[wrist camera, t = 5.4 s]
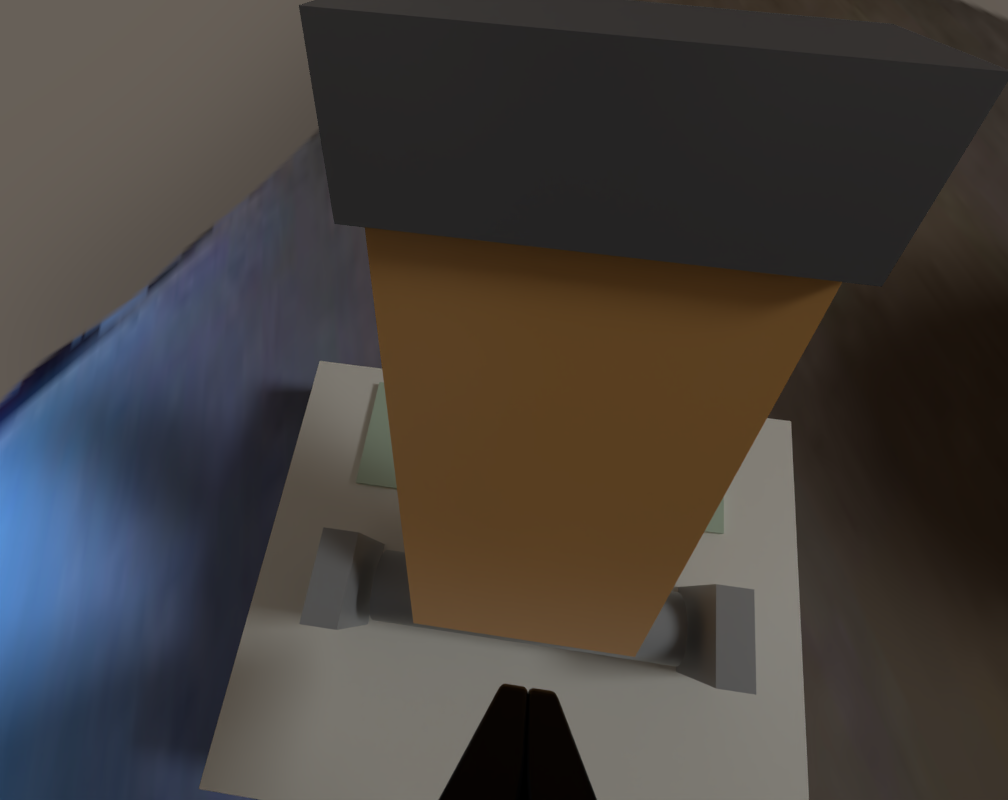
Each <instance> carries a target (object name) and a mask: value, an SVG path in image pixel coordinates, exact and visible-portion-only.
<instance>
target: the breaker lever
mask: <svg viewBox="0 0 1008 800" xmlns="http://www.w3.org/2000/svg"><path fill="white" fill-rule="evenodd" d="M299 8H300V15H301V21H302V27H303V33H304V39H305V46H306V52H307V58H308V64H309V70H310V75H311V82H312V89H313V94H314V101H315V107H316V113H317V119H318V126H319V132H320V138H321V144H322V150H323V156H324V162H325V169H326V175H327V181H328V187H329V193H330V199H331V206H332V212H333V218H334V224H341V225H349V226H358V227H365V233H366V241H367V249H368V257H369V265H370V274H371V282H372V290H373V298H374V306H375V314H376V322H377V331H378V339H379V347H380V355H381V363H382V371H383V379H384V388H385V396H386V404H387V412H388V420H389V428H390V436H391V444H392V453H393V461H394V469H395V477H396V485H397V493H398V501H399V510H400V518H401V526H402V534H403V542H404V550H405V552H400V551H393V550H385V551H384V553H383V554H382V556H381V558H380V561H379V563H378V566H377V569H376V572H375V576H374V580H373V585H372V590H371V597H370V617H371V619H372V620H375V621H382V622H388V623H395V624H401V625H408V626H414V627H421V628H427V629H434V630H441V631H447V632H454V633H460V634H467V635H473V636H480V637H486V638H493V639H499V640H506V641H512V642H519V643H526V644H532V645H539V646H545V647H552V648H558V649H565V650H571V651H578V652H584V653H591V654H597V655H604V656H610V657H617V658H624V659H630V660H637V661H643V662H650V663H656V664H663V665H669V666H676V667H677V666H679V665H680V664H681V662H682V660H683V657H684V654H685V649H686V643H687V612H686V606H685V602H684V599H683V597H682V595H681V594H680V593H679V592H674V591H672V589H673V587H674V586H675V584H676V582H677V580H678V578H679V577H680V575H681V573H682V571H683V569H684V567H685V566H686V564H687V562H688V560H689V558H690V557H691V555H692V553H693V551H694V549H695V548H696V546H697V544H698V542H699V540H700V539H701V537H702V535H703V533H704V531H705V530H706V528H707V526H708V524H709V522H710V520H711V519H712V517H713V515H714V513H715V511H716V510H717V508H718V506H719V504H720V502H721V501H722V499H723V497H724V495H725V493H726V492H727V490H728V488H729V486H730V484H731V483H732V481H733V479H734V477H735V475H736V473H737V472H738V470H739V468H740V466H741V464H742V463H743V461H744V459H745V457H746V455H747V454H748V452H749V450H750V448H751V446H752V445H753V443H754V441H755V439H756V437H757V436H758V434H759V432H760V430H761V428H762V426H763V425H764V423H765V421H766V419H767V417H768V416H769V414H770V412H771V410H772V408H773V407H774V405H775V403H776V401H777V399H778V398H779V396H780V394H781V392H782V390H783V389H784V387H785V385H786V383H787V381H788V379H789V378H790V376H791V374H792V372H793V370H794V369H795V367H796V365H797V363H798V361H799V360H800V358H801V356H802V354H803V352H804V351H805V349H806V347H807V345H808V343H809V342H810V340H811V338H812V336H813V334H814V332H815V331H816V329H817V327H818V325H819V323H820V322H821V320H822V318H823V316H824V314H825V313H826V311H827V309H828V307H829V305H830V304H831V302H832V300H833V298H834V296H835V295H836V293H837V291H838V289H839V287H840V285H841V284H842V282H847V283H856V284H865V285H874V286H882V285H883V284H884V282H885V280H886V279H887V277H888V276H889V274H890V272H891V271H892V269H893V267H894V266H895V264H896V263H897V261H898V259H899V258H900V256H901V254H902V253H903V251H904V250H905V248H906V246H907V245H908V243H909V241H910V240H911V238H912V236H913V235H914V233H915V232H916V230H917V228H918V227H919V225H920V223H921V222H922V220H923V219H924V217H925V215H926V214H927V212H928V210H929V209H930V207H931V206H932V204H933V202H934V201H935V199H936V197H937V196H938V194H939V192H940V191H941V189H942V188H943V186H944V184H945V183H946V181H947V179H948V178H949V176H950V175H951V173H952V171H953V170H954V168H955V166H956V165H957V163H958V162H959V160H960V158H961V157H962V155H963V153H964V152H965V150H966V148H967V147H968V145H969V144H970V142H971V140H972V139H973V137H974V135H975V134H976V132H977V131H978V129H979V127H980V126H981V124H982V122H983V121H984V119H985V118H986V116H987V114H988V113H989V111H990V109H991V108H992V106H993V104H994V103H995V101H996V100H997V98H998V96H999V95H1000V93H1001V91H1002V90H1003V88H1004V87H1005V85H1006V83H1007V82H1008V70H1007V69H1005V68H1002V67H1000V66H997V65H994V64H992V63H989V62H987V61H984V60H982V59H979V58H977V57H974V56H972V55H969V54H967V53H964V52H962V51H959V50H957V49H954V48H952V47H949V46H947V45H944V44H942V43H939V42H937V41H934V40H932V39H929V38H927V37H924V36H922V35H919V34H917V33H914V32H912V31H909V30H907V29H904V28H902V27H899V26H897V25H894V24H888V23H877V22H866V21H854V20H843V19H832V18H821V17H810V16H799V15H788V14H777V13H765V12H754V11H743V10H732V9H721V8H710V7H699V6H687V5H676V4H665V3H654V2H643V1H632V0H314V1H311V2H308V3H305V4H302V5H299Z"/></svg>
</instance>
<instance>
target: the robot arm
mask: <svg viewBox="0 0 1008 800" xmlns="http://www.w3.org/2000/svg"><path fill="white" fill-rule="evenodd" d="M439 800H597V798H596V795H595V793H594V790H593V788H592V785H591V782H590V780H589V777H588V775H587V772H586V769H585V767H584V764H583V761H582V759H581V756H580V754H579V751H578V748H577V746H576V743H575V740H574V738H573V735H572V733H571V730H570V727H569V725H568V722H567V720H566V717H565V714H564V712H563V709H562V706H561V704H560V701H559V699H558V697H557V695H556V693H555V692H553V691H550V690H543V689H537V688H531V689H530V690H529V691H527V689H526V688H525V687H523V686H518V685H511V684H502V685H501V686H500V687H499V689H498V690H497V692H496V694H495V696H494V698H493V700H492V701H491V703H490V705H489V707H488V709H487V711H486V713H485V714H484V716H483V718H482V720H481V722H480V724H479V726H478V727H477V729H476V731H475V733H474V735H473V737H472V738H471V740H470V742H469V744H468V746H467V748H466V750H465V751H464V753H463V755H462V757H461V759H460V761H459V763H458V764H457V766H456V768H455V770H454V772H453V774H452V775H451V777H450V779H449V781H448V783H447V785H446V787H445V788H444V790H443V792H442V794H441V796H440V798H439Z"/></svg>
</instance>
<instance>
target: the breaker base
mask: <svg viewBox="0 0 1008 800" xmlns="http://www.w3.org/2000/svg"><path fill="white" fill-rule="evenodd" d="M385 550H393V551H400V552H405V550H404V542H403V534H402V526H401V518H400V510H399V501H398V493H397V485H396V477H395V469H394V461H393V453H392V444H391V436H390V428H389V420H388V412H387V404H386V396H385V388H384V379H383V371H382V369H379V368H371V367H363V366H356V365H348V364H340V363H332V362H324V361H320V362H319V366H318V369H317V373H316V376H315V380H314V383H313V387H312V390H311V394H310V397H309V401H308V404H307V408H306V412H305V415H304V419H303V422H302V426H301V429H300V433H299V436H298V440H297V443H296V447H295V450H294V454H293V457H292V461H291V465H290V468H289V472H288V475H287V479H286V482H285V486H284V489H283V493H282V496H281V500H280V503H279V507H278V510H277V514H276V517H275V521H274V525H273V528H272V532H271V535H270V539H269V542H268V546H267V549H266V553H265V556H264V560H263V563H262V567H261V570H260V574H259V578H258V581H257V585H256V588H255V592H254V595H253V599H252V602H251V606H250V609H249V613H248V616H247V620H246V623H245V627H244V630H243V634H242V638H241V641H240V645H239V648H238V652H237V655H236V659H235V662H234V666H233V669H232V673H231V676H230V680H229V683H228V687H227V691H226V694H225V698H224V701H223V705H222V708H221V712H220V715H219V719H218V722H217V726H216V729H215V733H214V736H213V740H212V743H211V747H210V751H209V754H208V758H207V761H206V765H205V768H204V772H203V775H202V779H201V782H200V786H199V789H202V790H208V791H213V792H219V793H225V794H231V795H237V796H242V797H248V798H254V799H260V800H439V798H440V796H441V794H442V792H443V790H444V788H445V787H446V785H447V783H448V781H449V779H450V777H451V775H452V774H453V772H454V770H455V768H456V766H457V764H458V763H459V761H460V759H461V757H462V755H463V753H464V751H465V750H466V748H467V746H468V744H469V742H470V740H471V738H472V737H473V735H474V733H475V731H476V729H477V727H478V726H479V724H480V722H481V720H482V718H483V716H484V714H485V713H486V711H487V709H488V707H489V705H490V703H491V701H492V700H493V698H494V696H495V694H496V692H497V690H498V689H499V687H500V686H501V685H502V684H511V685H518V686H523V687H525V688H526V689H527V691H529V690H530V689H531V688H537V689H543V690H550V691H553V692H555V693H556V695H557V697H558V699H559V701H560V704H561V706H562V709H563V712H564V714H565V717H566V720H567V722H568V725H569V727H570V730H571V733H572V735H573V738H574V740H575V743H576V746H577V748H578V751H579V754H580V756H581V759H582V761H583V764H584V767H585V769H586V772H587V775H588V777H589V780H590V782H591V785H592V788H593V790H594V793H595V795H596V798H597V800H809V790H808V769H807V748H806V727H805V706H804V685H803V664H802V643H801V622H800V601H799V580H798V559H797V538H796V517H795V495H794V474H793V453H792V432H791V421H785V420H777V419H769V418H767V419H766V421H765V423H764V425H763V426H762V428H761V430H760V432H759V434H758V436H757V437H756V439H755V441H754V443H753V445H752V446H751V448H750V450H749V452H748V454H747V455H746V457H745V459H744V461H743V463H742V464H741V466H740V468H739V470H738V472H737V473H736V475H735V477H734V479H733V481H732V483H731V484H730V486H729V488H728V490H727V492H726V493H725V495H724V497H723V499H722V501H721V502H720V504H719V506H718V508H717V510H716V511H715V513H714V515H713V517H712V519H711V520H710V522H709V524H708V526H707V528H706V530H705V531H704V533H703V535H702V537H701V539H700V540H699V542H698V544H697V546H696V548H695V549H694V551H693V553H692V555H691V557H690V558H689V560H688V562H687V564H686V566H685V567H684V569H683V571H682V573H681V575H680V577H679V578H678V580H677V582H676V584H675V586H674V587H673V589H672V591H674V592H679V593H680V594H681V595H682V597H683V599H684V602H685V606H686V612H687V643H686V649H685V654H684V657H683V660H682V662H681V664H680V665H679V666H677V667H676V666H669V665H663V664H656V663H650V662H643V661H637V660H630V659H624V658H617V657H610V656H604V655H597V654H591V653H584V652H578V651H571V650H565V649H558V648H552V647H545V646H539V645H532V644H526V643H519V642H512V641H506V640H499V639H493V638H486V637H480V636H473V635H467V634H460V633H454V632H447V631H441V630H434V629H427V628H421V627H414V626H408V625H401V624H395V623H388V622H382V621H375V620H372V619H371V617H370V597H371V590H372V585H373V580H374V576H375V572H376V569H377V566H378V563H379V561H380V558H381V556H382V554H383V553H384V551H385Z"/></svg>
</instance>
